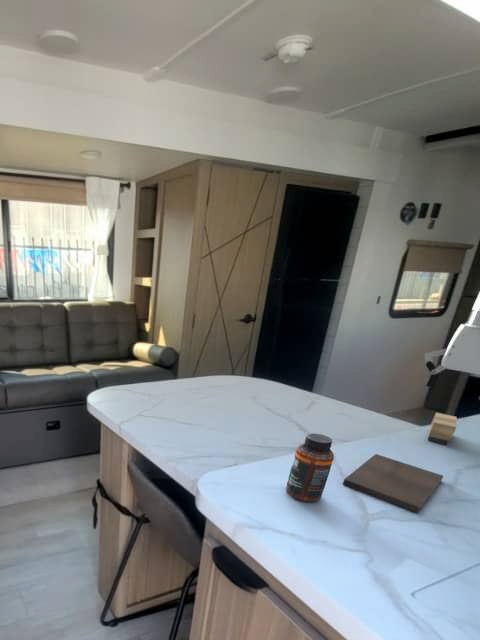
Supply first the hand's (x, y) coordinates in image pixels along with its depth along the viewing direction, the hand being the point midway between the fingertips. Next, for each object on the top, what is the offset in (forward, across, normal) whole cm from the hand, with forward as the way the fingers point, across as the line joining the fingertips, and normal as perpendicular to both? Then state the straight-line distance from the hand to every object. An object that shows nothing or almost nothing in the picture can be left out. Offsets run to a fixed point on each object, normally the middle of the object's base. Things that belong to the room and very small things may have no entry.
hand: (454, 395), depth 96 cm
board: (+11, +5, +36) cm, 38 cm away
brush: (+11, 0, 0) cm, 11 cm away
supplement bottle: (+12, +17, +54) cm, 57 cm away
